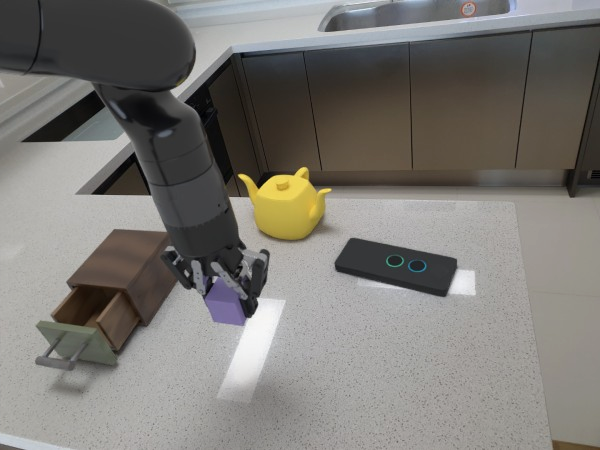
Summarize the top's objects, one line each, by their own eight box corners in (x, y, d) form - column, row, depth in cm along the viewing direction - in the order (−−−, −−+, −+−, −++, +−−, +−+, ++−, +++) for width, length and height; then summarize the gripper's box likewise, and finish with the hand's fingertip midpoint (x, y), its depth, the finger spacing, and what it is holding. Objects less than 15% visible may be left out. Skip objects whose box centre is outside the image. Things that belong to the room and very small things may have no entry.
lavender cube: (243, 326, 57) (234, 303, 55) (213, 322, 59) (204, 299, 56) (255, 301, 60) (247, 278, 58) (227, 298, 62) (218, 275, 59)
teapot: (356, 206, 98) (351, 162, 92) (323, 252, 88) (314, 207, 82) (271, 190, 109) (261, 150, 102) (233, 230, 99) (219, 189, 92)
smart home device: (445, 291, 73) (332, 264, 83) (445, 298, 74) (333, 271, 84) (458, 257, 78) (351, 235, 88) (458, 264, 80) (351, 242, 89)
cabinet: (147, 326, 81) (125, 288, 75) (90, 318, 85) (65, 282, 79) (185, 268, 91) (169, 231, 86) (133, 264, 96) (114, 228, 90)
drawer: (96, 391, 71) (72, 360, 66) (39, 380, 74) (13, 350, 70) (156, 302, 84) (139, 271, 79) (105, 296, 88) (87, 267, 83)
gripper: (119, 221, 49) (173, 326, 59) (240, 228, 44) (275, 341, 54) (156, 182, 54) (199, 284, 65) (267, 185, 50) (294, 295, 60)
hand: (234, 310), depth 59 cm, fingers closed on lavender cube, 4 cm apart
